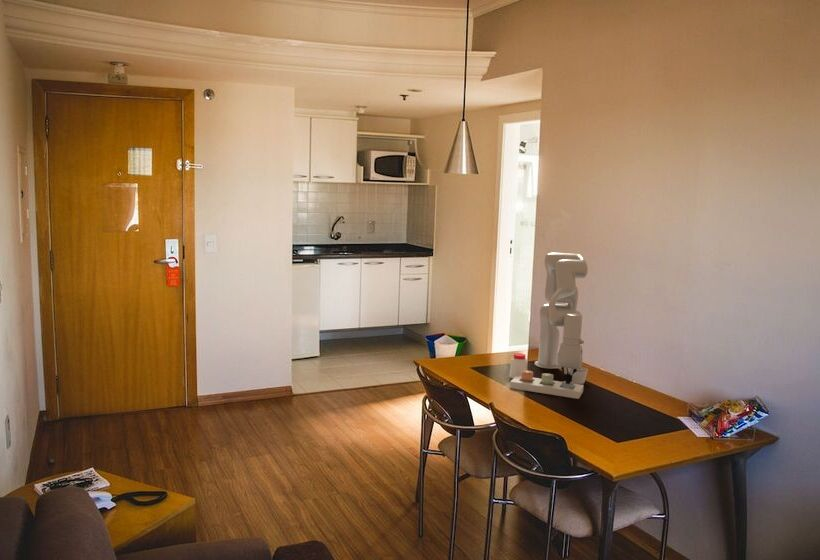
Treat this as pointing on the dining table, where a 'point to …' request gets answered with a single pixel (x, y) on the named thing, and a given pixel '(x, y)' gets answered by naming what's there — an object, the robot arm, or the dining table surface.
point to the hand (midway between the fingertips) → (568, 382)
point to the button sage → (547, 379)
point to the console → (547, 387)
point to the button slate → (567, 385)
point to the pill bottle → (518, 365)
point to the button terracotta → (527, 376)
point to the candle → (579, 376)
